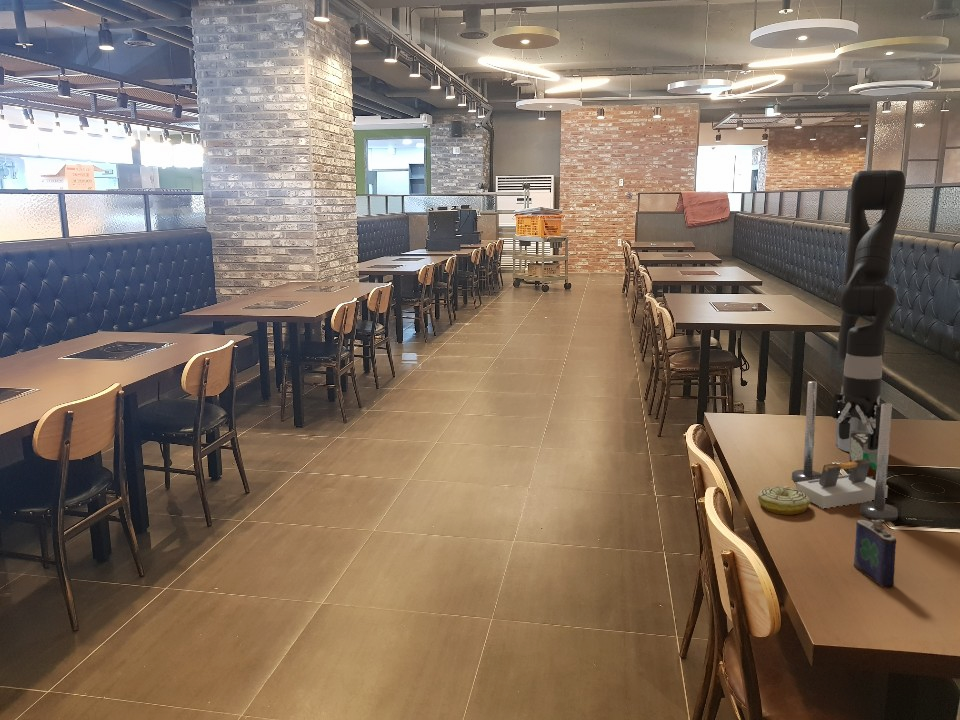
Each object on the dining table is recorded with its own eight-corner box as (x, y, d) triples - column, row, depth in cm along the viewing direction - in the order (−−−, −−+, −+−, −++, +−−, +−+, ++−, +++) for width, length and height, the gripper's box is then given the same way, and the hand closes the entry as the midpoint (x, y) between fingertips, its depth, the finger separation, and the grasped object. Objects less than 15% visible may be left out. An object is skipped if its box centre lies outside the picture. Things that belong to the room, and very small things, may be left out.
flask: (850, 564, 136) (854, 510, 134) (864, 563, 136) (868, 509, 134) (883, 589, 127) (888, 531, 125) (899, 587, 127) (904, 530, 125)
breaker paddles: (818, 483, 166) (824, 465, 164) (860, 477, 169) (865, 458, 167) (823, 487, 164) (828, 468, 162) (865, 481, 167) (870, 462, 165)
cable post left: (785, 477, 180) (789, 380, 175) (809, 474, 182) (814, 377, 177) (805, 487, 174) (810, 386, 169) (829, 483, 175) (835, 383, 171)
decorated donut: (816, 506, 163) (817, 490, 163) (799, 521, 156) (800, 504, 155) (769, 495, 170) (770, 479, 170) (750, 509, 163) (751, 493, 162)
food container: (890, 486, 172) (893, 445, 170) (861, 485, 174) (864, 445, 172) (873, 468, 184) (876, 430, 182) (847, 467, 185) (849, 429, 183)
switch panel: (795, 494, 169) (796, 481, 169) (856, 485, 174) (857, 472, 173) (823, 509, 161) (824, 495, 160) (886, 498, 165) (887, 485, 165)
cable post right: (852, 511, 159) (859, 401, 155) (879, 506, 161) (887, 398, 156) (877, 523, 153) (886, 409, 148) (905, 518, 155) (914, 406, 150)
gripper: (902, 378, 157) (896, 451, 160) (852, 366, 171) (848, 433, 174) (873, 382, 155) (868, 455, 158) (825, 369, 169) (821, 437, 172)
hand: (858, 443), depth 166 cm, fingers open, 8 cm apart
